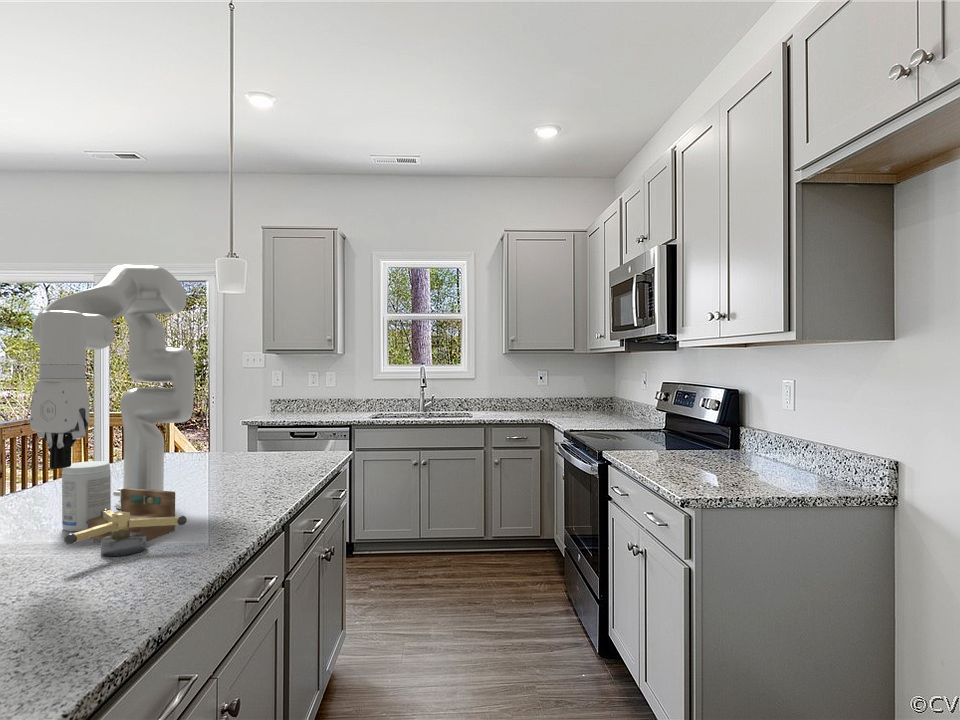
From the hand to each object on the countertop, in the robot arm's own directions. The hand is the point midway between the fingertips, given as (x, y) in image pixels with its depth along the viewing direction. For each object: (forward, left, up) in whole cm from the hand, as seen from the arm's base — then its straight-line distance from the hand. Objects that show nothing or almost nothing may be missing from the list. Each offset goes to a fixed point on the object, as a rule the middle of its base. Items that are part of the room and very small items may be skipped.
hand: (60, 467), depth 119 cm
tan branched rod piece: (+7, +5, -18) cm, 20 cm away
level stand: (0, +18, -18) cm, 25 cm away
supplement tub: (-15, +20, -18) cm, 31 cm away
